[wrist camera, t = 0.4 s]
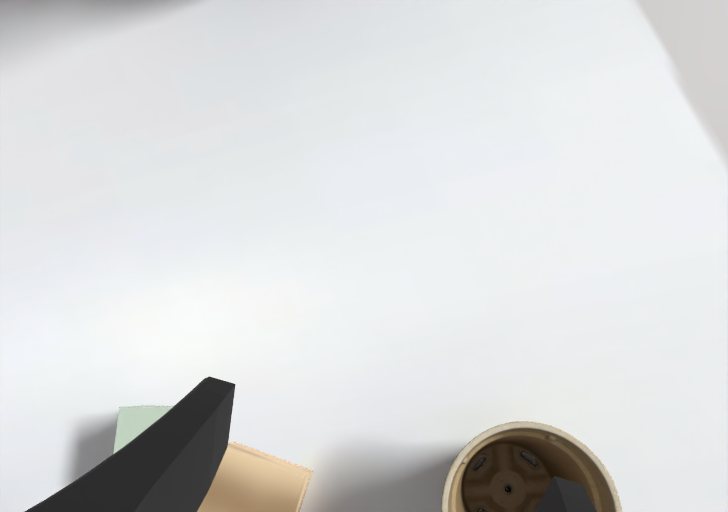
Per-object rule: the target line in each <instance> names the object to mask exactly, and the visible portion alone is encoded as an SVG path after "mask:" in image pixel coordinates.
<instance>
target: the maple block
mask: <svg viewBox="0 0 728 512" xmlns="http://www.w3.org/2000/svg"><path fill="white" fill-rule="evenodd" d="M312 471H313V470H310V469H307V468H305V467H302V466H299V465H296V464H294V463H291V462H288V461H285V460H283V459H280V458H277V457H275V456H272V455H269V454H266V453H264V452H261V451H258V450H255V449H253V448H250V447H247V446H245V445H242V444H239V443H236V442H233V443H230V444H228V447H227V449H226V452H225V454H224V456H223V459H222V461H221V463H220V466H219V468H218V471H217V473H216V475H215V477H214V480H213V482H212V484H211V486H210V489H209V491H208V493H207V495H206V496H205V498H204V500H203V502H202V504H201V505H200V507H199V509H198V511H197V512H299V511H300V508H301V505H302V502H303V499H304V496H305V493H306V489H307V486H308V483H309V480H310V477H311V474H312Z"/></svg>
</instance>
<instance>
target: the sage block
mask: <svg viewBox="0 0 728 512" xmlns="http://www.w3.org/2000/svg"><path fill="white" fill-rule="evenodd" d="M173 407H174V406H155V405H153V406H134V407H119V414H118V421H117V429H116V436H115V443H114V451H113V454H114V453H116V452H117V451H119V450H120V449H121V448H123V447H124V446H125V445H127V444H128V443H129V442H131V441H132V440H133V439H135V438H136V437H137V436H138V435H140V434H141V433H142V432H143V431H145V430H146V429H147V428H148V427H150V426H151V425H152V424H153V423H155V422H156V421H157V420H158V419H160V418H161V417H162V416H163V415H164V414H166V413H167V412H168V411H169V410H170V409H171V408H173Z"/></svg>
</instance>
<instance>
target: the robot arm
mask: <svg viewBox="0 0 728 512" xmlns="http://www.w3.org/2000/svg"><path fill="white" fill-rule="evenodd" d="M234 390H235V384H233V383H230V382H226V381H223V380H219V379H216V378H212V377H208V378H205V379H204V380H203V381H201V382H200V383H199V384H198V385H197V386H196V387H195V388H194V389H193V390H192V391H191V392H190V393H189V394H187V395H186V396H185V397H184V398H183V399H182V400H181V401H180V402H178V403H177V404H176V405H175V406H174V407H173V408H171V409H170V410H169V411H168V412H167V413H166V414H164V415H163V416H162V417H161V418H160V419H158V420H157V421H156V422H155V423H153V424H152V425H151V426H150V427H148V428H147V429H146V430H145V431H143V432H142V433H141V434H140V435H138V436H137V437H136V438H135V439H133V440H132V441H131V442H129V443H128V444H127V445H125V446H124V447H123V448H121V449H120V450H119V451H117V452H116V453H114V454H113V455H112V456H110V457H109V458H107V459H106V460H105V461H103V462H102V463H101V464H99V465H98V466H96V467H95V468H94V469H92V470H91V471H89V472H88V473H86V474H85V475H83V476H82V477H80V478H79V479H77V480H76V481H74V482H73V483H71V484H70V485H68V486H66V487H65V488H63V489H62V490H60V491H58V492H57V493H55V494H54V495H52V496H50V497H49V498H47V499H46V500H44V501H42V502H41V503H39V504H37V505H35V506H34V507H32V508H30V509H28V510H27V511H25V512H197V511H198V509H199V507H200V505H201V504H202V502H203V500H204V498H205V496H206V495H207V493H208V491H209V489H210V486H211V484H212V482H213V480H214V477H215V475H216V473H217V471H218V468H219V466H220V463H221V461H222V459H223V456H224V454H225V452H226V449H227V447H228V439H229V431H230V423H231V414H232V406H233V398H234ZM534 512H597V511H596V509H595V507H594V505H593V503H592V501H591V499H590V497H589V495H588V494H587V492H586V490H585V488H584V486H583V484H580V483H577V482H573V481H570V480H566V479H563V478H559V477H556V476H554V478H553V480H552V481H551V483H550V485H549V487H548V488H547V490H546V492H545V494H544V495H543V497H542V499H541V500H540V502H539V504H538V506H537V507H536V509H535V511H534Z"/></svg>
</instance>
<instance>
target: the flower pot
mask: <svg viewBox="0 0 728 512" xmlns="http://www.w3.org/2000/svg"><path fill="white" fill-rule="evenodd" d="M523 451H524V452H526V453H528V454H530V455H531V456H532V457H534V458H535V460H536V462H537V466H536V467H534V466H533V465H532V464H531V463H530V462H528V461H527V460H526V459H525V458H524V457H522V456H521V452H523ZM481 458H486V460H485V461H484V462H483V463H482V465H483V467H482V466H481V467H479V468H478V469H477V470H474V469H473V468H474V467H475V465H476V464H477V463H478V461H479V460H480V459H481ZM554 476H556V477H559V478H563V479H566V480H570V481H573V482H577V483H580V484H583V486H584V488H585V490H586V492H587V494H588V495H589V497H590V499H591V501H592V503H593V505H594V507H595V509H596V511H597V512H622V508H621V503H620V500H619V496H618V492H617V490H616V487H615V485H614V482H613V480H612V478H611V476H610V475H609V473H608V471H607V470H606V468H605V466H604V465H603V464H602V462H601V461H600V460H599V459H598V457H597V456H596V455H595V454H594V453H593V452H592V451H591V450H590V449H589V448H588V447H587V446H586V445H584V444H583V443H582V442H580V441H579V440H577V439H576V438H575V437H573V436H571V435H570V434H568V433H566V432H564V431H562V430H560V429H557V428H555V427H552V426H549V425H545V424H541V423H536V422H510V423H505V424H502V425H498V426H495V427H493V428H491V429H488V430H487V431H485V432H483V433H481V434H480V435H478V436H477V437H475V438H474V439H473V440H472V441H470V442H469V443H468V444H467V445H466V446H465V447H464V448H463V449H462V451H461V452H460V453H459V454H458V456H457V457H456V459H455V460H454V462H453V464H452V466H451V468H450V470H449V473H448V475H447V478H446V480H445V484H444V489H443V494H442V512H478V510H479V509H480V508H482V509H484V510H485V511H486V512H534V511H535V509H536V507H537V506H538V504H539V502H540V500H541V499H542V497H543V495H544V494H545V492H546V490H547V488H548V487H549V485H550V483H551V481H552V480H553V478H554ZM506 486H510V487H511V492H506V491H505V487H506Z"/></svg>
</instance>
